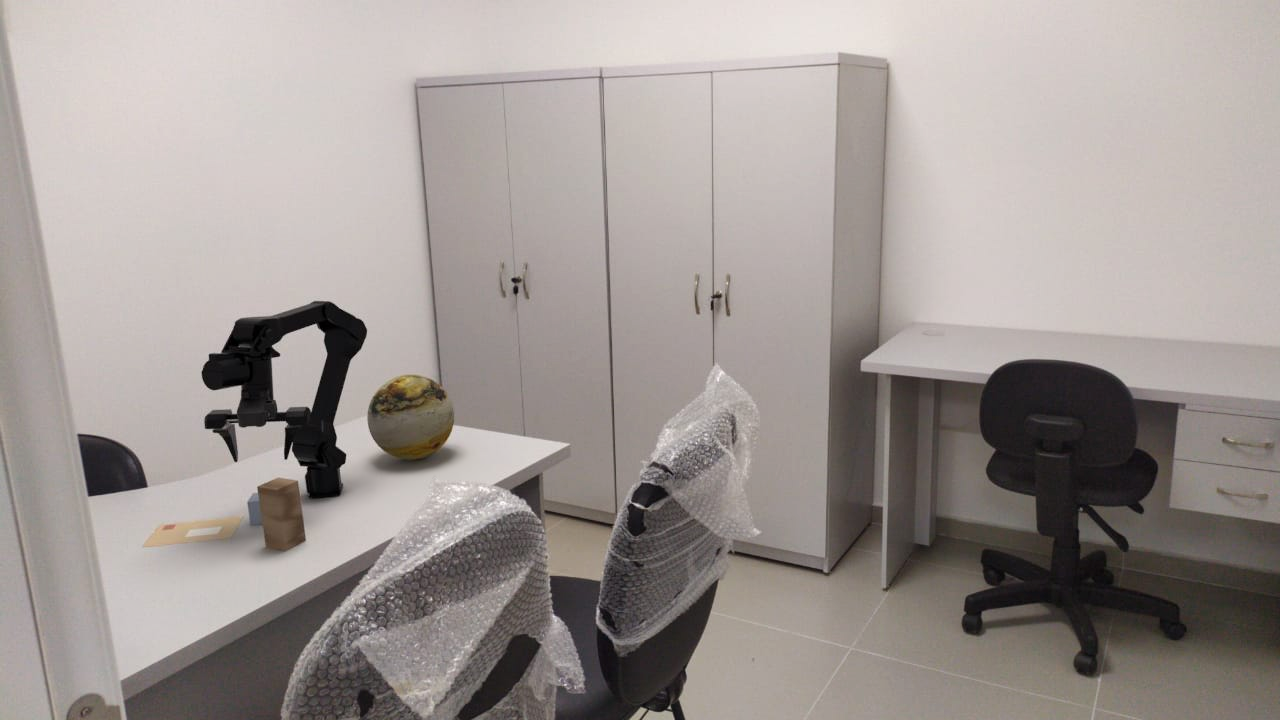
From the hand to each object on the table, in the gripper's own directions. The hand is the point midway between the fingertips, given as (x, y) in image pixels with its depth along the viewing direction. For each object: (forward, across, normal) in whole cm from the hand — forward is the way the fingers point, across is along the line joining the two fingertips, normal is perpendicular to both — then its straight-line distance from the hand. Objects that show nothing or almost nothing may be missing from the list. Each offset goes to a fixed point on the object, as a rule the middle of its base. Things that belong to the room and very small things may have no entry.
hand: (261, 460), depth 181 cm
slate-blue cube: (+13, 0, +2) cm, 13 cm away
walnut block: (+13, +6, -12) cm, 19 cm away
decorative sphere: (+9, +28, +31) cm, 43 cm away
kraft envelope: (+14, -13, 0) cm, 19 cm away
